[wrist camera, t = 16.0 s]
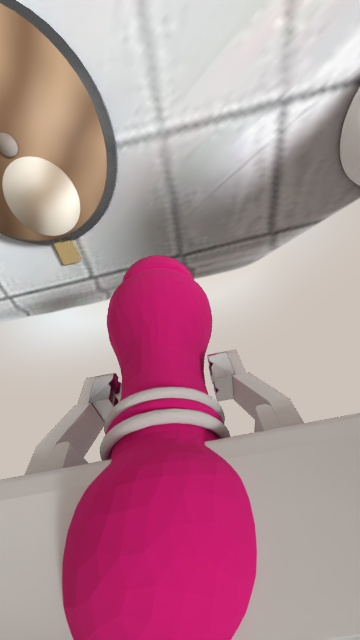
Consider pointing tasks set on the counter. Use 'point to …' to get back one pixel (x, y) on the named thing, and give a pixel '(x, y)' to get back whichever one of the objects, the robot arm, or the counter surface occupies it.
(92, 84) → the base
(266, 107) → the counter surface
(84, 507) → the pepper mill
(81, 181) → the turntable
